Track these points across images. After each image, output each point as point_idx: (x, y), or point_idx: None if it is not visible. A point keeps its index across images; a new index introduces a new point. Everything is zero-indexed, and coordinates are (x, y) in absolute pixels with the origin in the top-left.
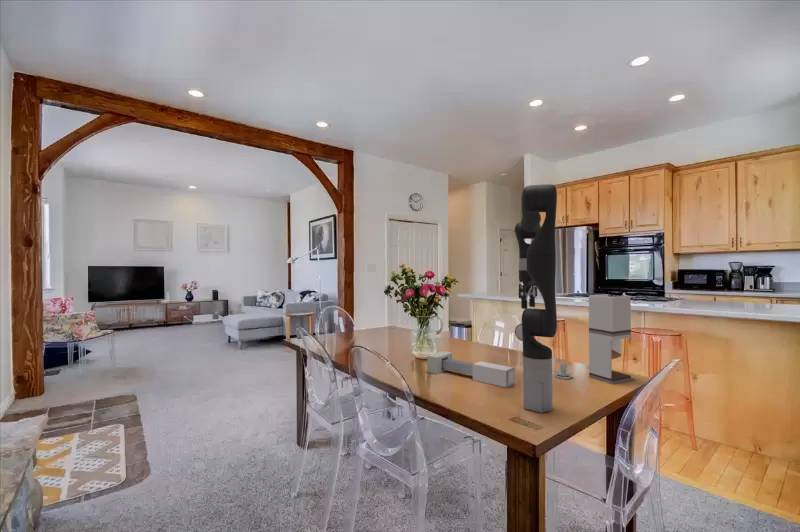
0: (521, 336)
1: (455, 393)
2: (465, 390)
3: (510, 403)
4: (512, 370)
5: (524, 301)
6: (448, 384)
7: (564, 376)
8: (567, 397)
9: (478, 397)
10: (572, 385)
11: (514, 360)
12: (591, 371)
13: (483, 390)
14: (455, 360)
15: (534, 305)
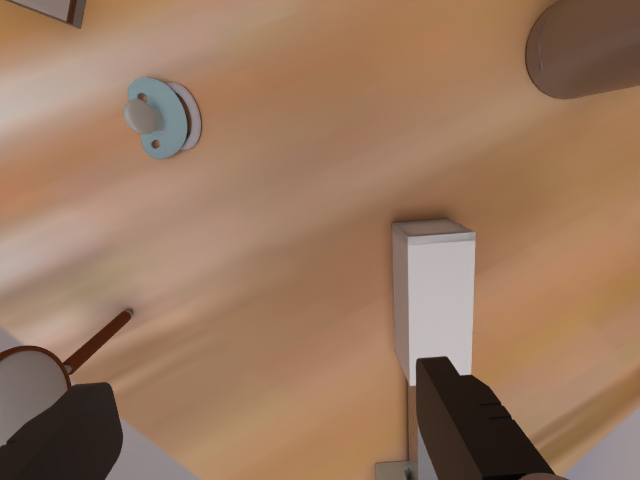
0: (57, 399)
1: (602, 311)
2: (558, 305)
3: (588, 136)
4: (424, 233)
5: (543, 466)
6: (537, 373)
7: (172, 110)
8: (408, 4)
9: (595, 241)
10: (252, 44)
11: (98, 370)
12: (63, 5)
13: (524, 264)
14: (426, 464)
15: (84, 392)
